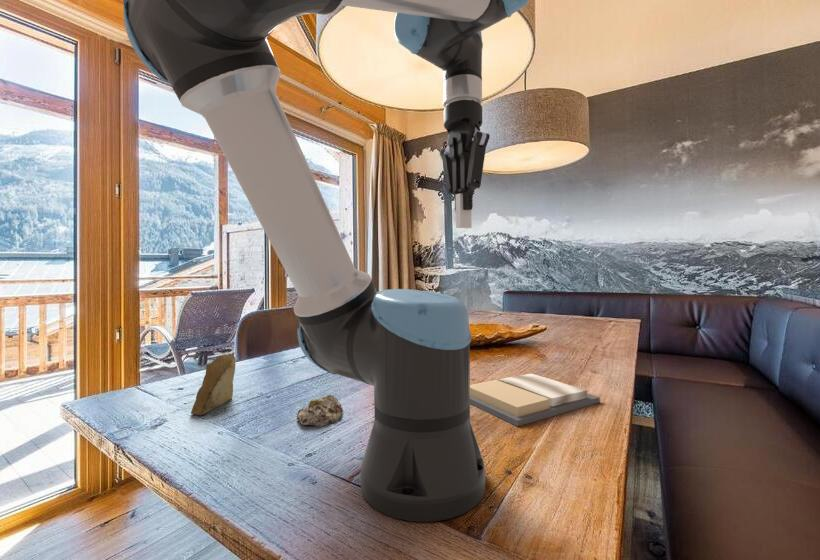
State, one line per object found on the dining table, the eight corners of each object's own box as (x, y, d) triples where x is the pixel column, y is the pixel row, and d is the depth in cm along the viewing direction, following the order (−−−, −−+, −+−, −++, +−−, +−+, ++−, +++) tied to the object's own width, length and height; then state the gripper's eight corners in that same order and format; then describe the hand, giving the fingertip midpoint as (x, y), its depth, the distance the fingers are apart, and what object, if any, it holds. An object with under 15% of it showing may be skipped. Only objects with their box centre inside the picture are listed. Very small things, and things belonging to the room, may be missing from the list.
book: (551, 406, 67) (551, 398, 67) (497, 386, 80) (498, 379, 80) (587, 397, 72) (587, 390, 72) (531, 379, 84) (531, 373, 84)
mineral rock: (332, 417, 61) (290, 401, 63) (325, 442, 62) (283, 425, 63) (356, 398, 72) (320, 384, 74) (351, 419, 72) (314, 405, 74)
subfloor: (517, 426, 62) (517, 410, 62) (459, 398, 76) (458, 385, 76) (599, 402, 73) (599, 388, 73) (535, 381, 87) (535, 370, 86)
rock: (204, 408, 65) (253, 385, 74) (181, 367, 67) (232, 350, 76) (183, 432, 71) (231, 408, 79) (163, 394, 72) (212, 375, 81)
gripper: (500, 97, 69) (501, 225, 69) (458, 122, 80) (459, 231, 81) (468, 87, 65) (469, 222, 66) (428, 115, 77) (429, 230, 77)
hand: (463, 227), depth 73 cm, fingers closed
